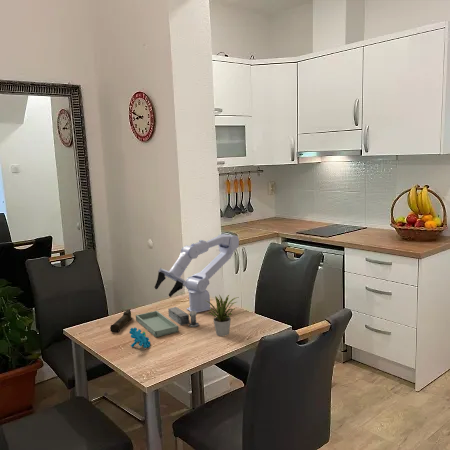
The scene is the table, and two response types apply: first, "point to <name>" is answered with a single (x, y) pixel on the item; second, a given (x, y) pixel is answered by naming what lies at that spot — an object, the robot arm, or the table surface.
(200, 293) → the robot arm
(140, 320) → the bin tray
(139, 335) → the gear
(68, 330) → the table surface
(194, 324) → the stud post
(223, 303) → the house plant
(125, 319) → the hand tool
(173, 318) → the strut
